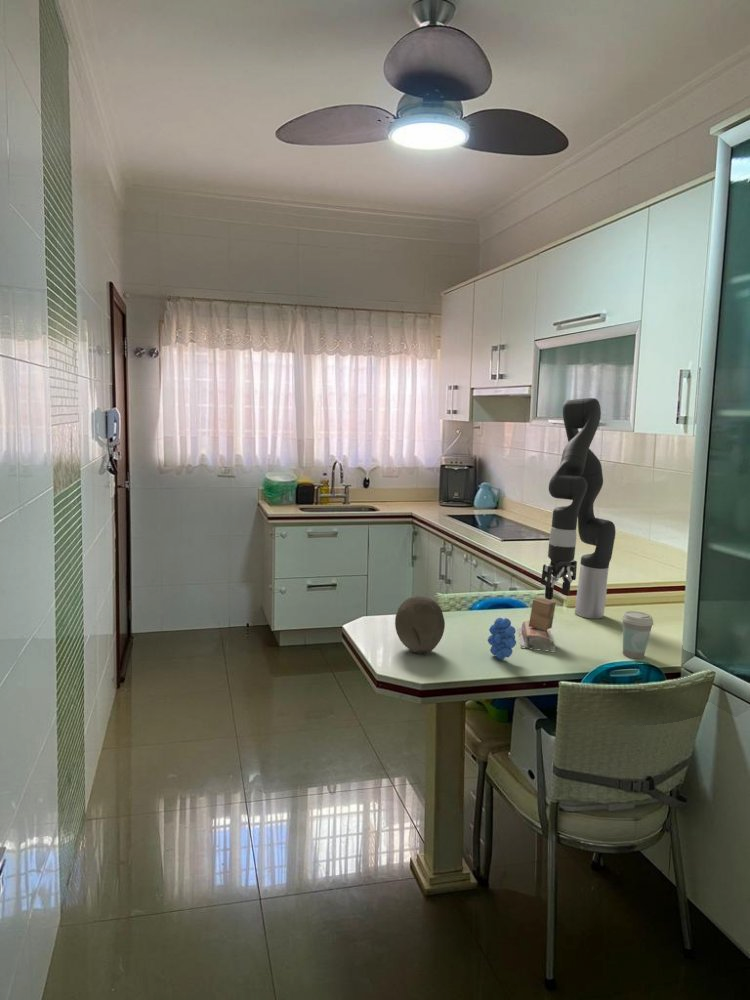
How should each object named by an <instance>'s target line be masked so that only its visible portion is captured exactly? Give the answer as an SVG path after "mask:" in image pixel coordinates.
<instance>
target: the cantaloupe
mask: <svg viewBox="0 0 750 1000" xmlns="http://www.w3.org/2000/svg"><path fill="white" fill-rule="evenodd" d="M394 618H395V620H394V621H395V623H394V625H395V626H394V627H395V631H396V634H397V636H398V640H400V642H401V643H402V645H404V647H406V648H407V649H408V650H409V651H411V652H413V653H417V654H426V653H429V652H432V651H433V650H434V649H435V648H436V647H437V646H438V644H439V643H440V642H441V640H442V637H443V635H444V632H445V626H446V624H445V623H446V622H445V617H444V614H443V611H442V609H441V607H440V605H439V603H438V602H437V601H436V600H434V598H433V599H432V598H430V597H425V596H419V595H417V596H412V597H408V598H407V599H405V600H403V602H402V603H401V604H400V605H399V607H398V608H397V611H396V615H395V617H394Z"/></svg>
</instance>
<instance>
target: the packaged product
mask: <svg viewBox="0 0 750 1000" xmlns="http://www.w3.org/2000/svg"><path fill="white" fill-rule="evenodd" d="M529 622H530V620H525V621H523V622H522V624H521V627H517V634H518V641H519V640H520V641H519V646H521V647H525V648H532V649H540V650H539V651H541V650H548V651H547V652H550V651H556V647H555V643H554V638H553V636H552V632H551V629H548V630H545V631H543V630H540V629H537V628H534V627H531V626H529ZM519 638H520V639H519ZM521 647H520V648H521ZM532 649H531V650H532Z"/></svg>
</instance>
